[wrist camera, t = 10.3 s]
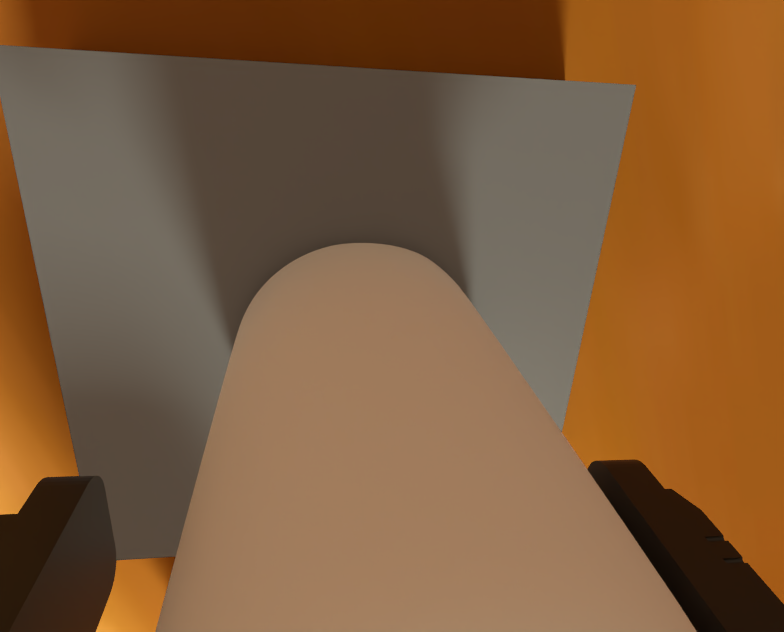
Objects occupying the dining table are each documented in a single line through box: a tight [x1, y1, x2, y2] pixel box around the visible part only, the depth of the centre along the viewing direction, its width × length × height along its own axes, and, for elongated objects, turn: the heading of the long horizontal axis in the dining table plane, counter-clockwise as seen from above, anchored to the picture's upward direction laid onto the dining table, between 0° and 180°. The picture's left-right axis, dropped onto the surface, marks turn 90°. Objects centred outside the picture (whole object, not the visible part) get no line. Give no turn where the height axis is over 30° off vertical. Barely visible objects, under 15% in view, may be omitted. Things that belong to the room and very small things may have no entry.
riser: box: [0, 45, 636, 560], centre depth 17 cm, size 14×14×4 cm
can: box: [156, 243, 697, 632], centre depth 10 cm, size 6×6×12 cm
